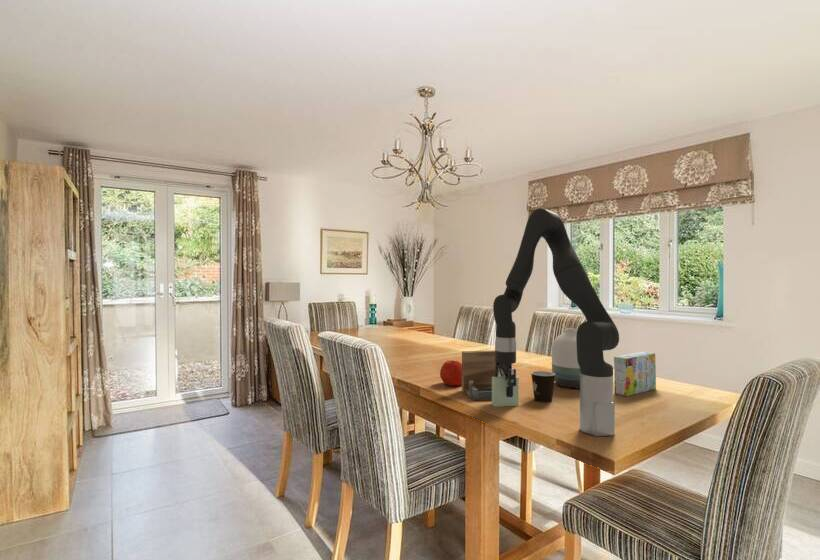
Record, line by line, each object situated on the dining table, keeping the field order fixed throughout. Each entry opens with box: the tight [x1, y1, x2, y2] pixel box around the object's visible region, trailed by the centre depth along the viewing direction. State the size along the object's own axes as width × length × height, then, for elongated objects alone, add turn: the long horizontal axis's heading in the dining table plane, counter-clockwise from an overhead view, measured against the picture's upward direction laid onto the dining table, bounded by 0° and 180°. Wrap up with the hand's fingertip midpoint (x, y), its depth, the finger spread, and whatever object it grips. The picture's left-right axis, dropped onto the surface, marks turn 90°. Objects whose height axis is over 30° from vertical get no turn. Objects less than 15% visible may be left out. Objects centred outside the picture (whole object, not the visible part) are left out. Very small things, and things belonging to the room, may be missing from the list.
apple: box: [439, 360, 462, 387], centre depth 189 cm, size 11×11×11 cm
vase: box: [551, 327, 580, 389], centre depth 187 cm, size 17×17×24 cm
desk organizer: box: [461, 349, 496, 401], centre depth 173 cm, size 14×15×16 cm
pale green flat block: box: [491, 376, 520, 408], centre depth 159 cm, size 3×9×10 cm, turn 99°
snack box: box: [613, 351, 657, 397], centre depth 178 cm, size 21×6×15 cm, turn 122°
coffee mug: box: [531, 370, 555, 403], centre depth 167 cm, size 12×9×10 cm
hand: (505, 393), depth 160 cm, fingers open, 8 cm apart
